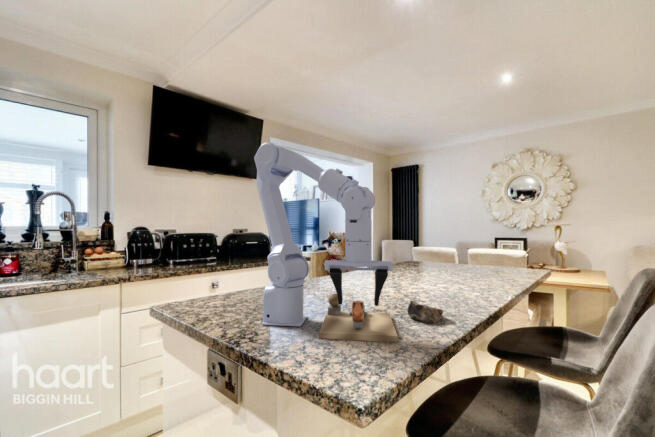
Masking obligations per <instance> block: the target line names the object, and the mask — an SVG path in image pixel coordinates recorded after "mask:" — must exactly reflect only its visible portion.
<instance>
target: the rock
mask: <svg viewBox="0 0 655 437" xmlns="http://www.w3.org/2000/svg"><path fill="white" fill-rule="evenodd" d="M406 312H407V315H408V317H410V318H413V319H415V320H416V321H420V322H423V323H425V324H426V323H427V324H429V323H430V324H436V323H437V322H438V321H440V320H441V318H443V314H444V310H443V309H442V308H436V307H432V306H431V307H430V306H429V305H427V304H420V303H418V302H417V301H415V300H410V303H409V304H408V307H407V311H406Z"/></svg>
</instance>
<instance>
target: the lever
mask: <svg viewBox="0 0 655 437" xmlns="http://www.w3.org/2000/svg"><path fill="white" fill-rule="evenodd" d="M365 307H366V306H365V303H364V301H363V300H354V301H352V304H351V311H352V321H353V327H357V328H363V321H364V312H366V310H365Z"/></svg>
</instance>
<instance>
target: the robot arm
mask: <svg viewBox="0 0 655 437" xmlns="http://www.w3.org/2000/svg"><path fill="white" fill-rule="evenodd" d="M253 159H254V163H255V167H256V187H257V188H256V189H257V191H258V196H259V199H260V204H261V207H262V211H263V215H264V220H265V224H266V227H267V231H268V234H269V239H270V243H271V247H272V250H271V251H270V253H269V254H268V255H267V264H268V266H267V277H268V279H269V281H270V282H271V284H267V285H266V286H265V288H264V291H263V299H262V306H263V307H262V322H261V324H262V325H263V326H280V327H284V326H285V327H302V326H303V324H304V322H305V321H306V319H307V317H308V315H307V314H304V289H305V288H304V286H305V279H306V278H307V277H308V276H309V273H310V264H309V262H308V260H307V259H306V258H305V256H304V254H303V252H302V251H303V250H302V249H301V248H300V247H299V246H297V245H296V244H295V241H294V238H293V235H292V234H293V233H292V230H291V227H290V222H289V219H288V216H287V212H286V208H285V204H284V201H283V198H282V193H281V192H282V191H281V189H280V186H281V184H283V183H284V182H285V181H286V180H287V178H288V177H290V175H291V174H292V173H294V171H295V172H301V173H302V174H303V175H305V176H307V177H309V178H311V180H314V181H316V182H317V186H318V189H319V190H320V191H321V192H323V193H324V194H326V195H327V196H329V197H330V198H332V199H333V200H335V201H337V202H338V203H339V204H340V205H341V207H342V208H343V210H344V214H345V215H344V216H345V220H344V222H345V223H344V226H345V227H344V228H345V229H344V230H345V231H344V232H345V233H344V238H345V239H344V242H345V243H344V246H345V247H344V248H345V249H344V250H345V251H344V257H345V258H344V259H338V260H333V259H332V260H331V259H330V260H325V261H324V271H329V277H330V280H331V281H332V284H333V286H334V289H335V292H336V294H337V296H338V302H339V305H341V306H343V286H342V285H343V281H342V280H343V278H342V277H343V271H369V272H370V271H375V272H374V283H375V284H374V287H375V288H374V299H373V300H374V306H376V307H379V303H380V302H379V301H380V296H381V293H382V290H383V288H384V285H385V283H386V280H387V278H388V276H389V273H388V272H393V271H394V264H393V261H391V260H390V261H389V260H388V261H387V260H372V258H373V257H372V252H373V251H372V248H373V247H372V246H373V245H372V244H373V243H372V242H373V241H372V239H373V238H372V235H373V234H372V233H373V232H372V230H373V229H372V226H373V224H372V222H373V221H372V209H373V208H374V206H375V203H376V197H375V195H374V193H373V191H372V190H371V189H370V188H369V187H367V186H360V185H359V183H360V182H359V181H358V180H356V179H353V180H352V179H350V178H349V177H347V176H346V175H344V174H343V170H341V169H339V168H335V169H334V168H328V169H324V168H322V167H320V166H319V165H317V164H316V163H315V162H314V161H311V160H310V159H308V158H307V157H306V156H304V155H302V154H300V153H298V152H296V151H293V150H292V149H291V150H290V149H288V148H285V147H282V146H280V145H276V144H274V143H272V142H271V141H266V142H264V143H262V144H261V145H260V146H259V147H258V149H257V151H256V153H255V155H254V156H253Z"/></svg>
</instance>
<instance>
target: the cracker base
mask: <svg viewBox="0 0 655 437" xmlns="http://www.w3.org/2000/svg"><path fill="white" fill-rule="evenodd" d="M327 300H328V303H329V305H328V307H327V312H326V314H325V317H324V319H323V322H322V325H321V328H320V329H319V334H318V336H319V337H318V339H330V340H345V341H346V340H347V341H367V342H383V343H384V342H385V343H386V342H387V343H399V342H398V338H399V336H398V334H397V331H396V328H395V325H394V322H393V320H392V316H391V313H390V312H389V313H387V312H370V311H369V312H366V311H365V312H364V321H363V328H357V327H353V321H352V310H351V311H342V310H341V309H342V305H339V302H338V296H337V293H331V294H330V295H329V297H328V299H327Z"/></svg>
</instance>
